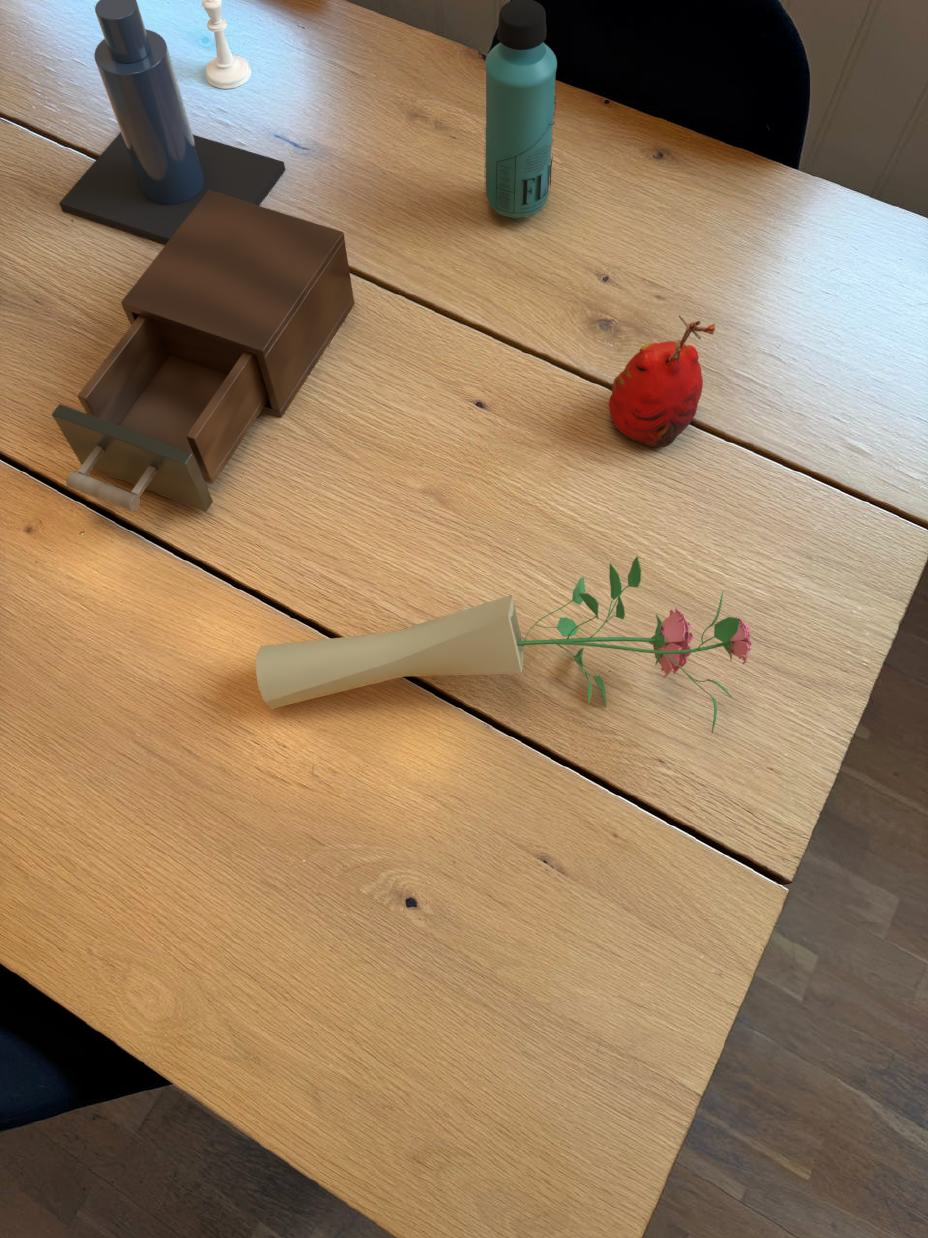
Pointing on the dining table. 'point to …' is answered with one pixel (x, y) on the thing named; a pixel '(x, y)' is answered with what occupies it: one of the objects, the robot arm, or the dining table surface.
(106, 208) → the mat
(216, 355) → the drawer
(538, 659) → the dining table surface
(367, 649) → the flower vase
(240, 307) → the cabinet
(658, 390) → the red fruit with stem
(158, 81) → the blue bottle
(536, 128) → the beverage bottle
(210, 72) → the chess piece
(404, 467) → the dining table surface
